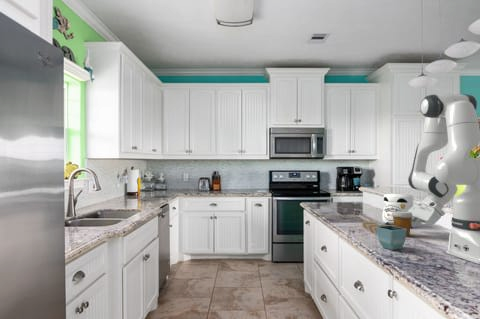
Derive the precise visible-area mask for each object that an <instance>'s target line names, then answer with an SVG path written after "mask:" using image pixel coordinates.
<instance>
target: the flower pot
mask: <svg viewBox="0 0 480 319" xmlns="http://www.w3.org/2000/svg"><path fill="white" fill-rule="evenodd" d="M376 228H377V234H376V236H377V239H378V240H377V241H378V242H379V244H380V246H381V247H382V248H384V249H388V250H391V251H395V250H401V249H402V248H403V246H404V244H405V241H406V239H407V238H406V232H407V229H404V228H400V227H395V226H378V227H376Z"/></svg>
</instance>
